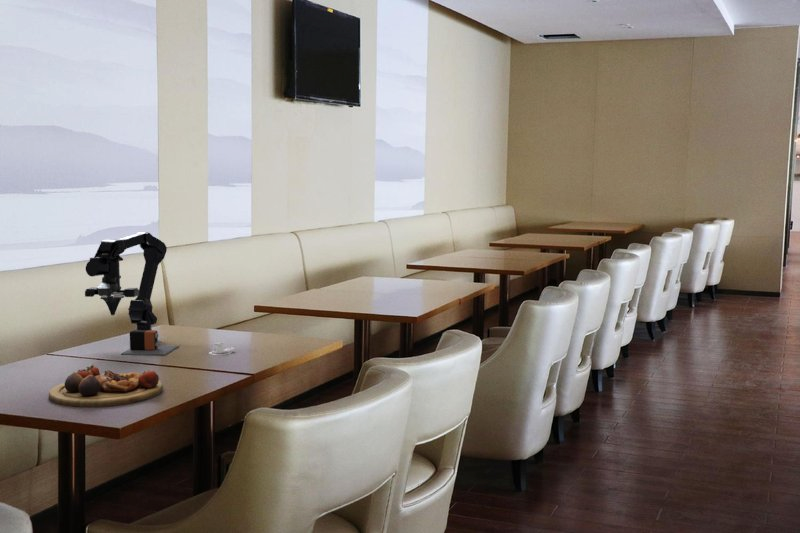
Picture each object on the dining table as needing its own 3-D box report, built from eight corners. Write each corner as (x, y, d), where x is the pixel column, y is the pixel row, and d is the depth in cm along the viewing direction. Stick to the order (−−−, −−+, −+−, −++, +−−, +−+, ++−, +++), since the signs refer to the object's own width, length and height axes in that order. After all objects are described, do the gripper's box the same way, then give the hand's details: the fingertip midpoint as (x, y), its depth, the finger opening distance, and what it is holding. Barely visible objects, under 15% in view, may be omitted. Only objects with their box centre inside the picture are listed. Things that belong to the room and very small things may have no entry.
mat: (137, 346, 336) (137, 344, 336) (179, 346, 335) (179, 345, 335) (121, 354, 320) (121, 353, 320) (164, 355, 319) (164, 354, 319)
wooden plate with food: (182, 386, 276) (182, 359, 275) (124, 412, 245) (123, 383, 244) (92, 379, 284) (91, 353, 283) (25, 404, 254) (23, 375, 253)
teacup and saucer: (236, 352, 328) (235, 341, 327) (229, 356, 320) (229, 345, 319) (212, 351, 329) (212, 340, 328) (205, 356, 321) (205, 344, 320)
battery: (129, 350, 326) (156, 350, 325) (129, 331, 325) (155, 332, 324) (134, 347, 330) (160, 348, 329) (133, 329, 330) (160, 330, 329)
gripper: (77, 276, 324) (79, 318, 326) (128, 276, 323) (129, 319, 325) (90, 272, 335) (91, 313, 337) (139, 273, 334) (140, 314, 336)
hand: (112, 315), depth 333 cm, fingers closed
